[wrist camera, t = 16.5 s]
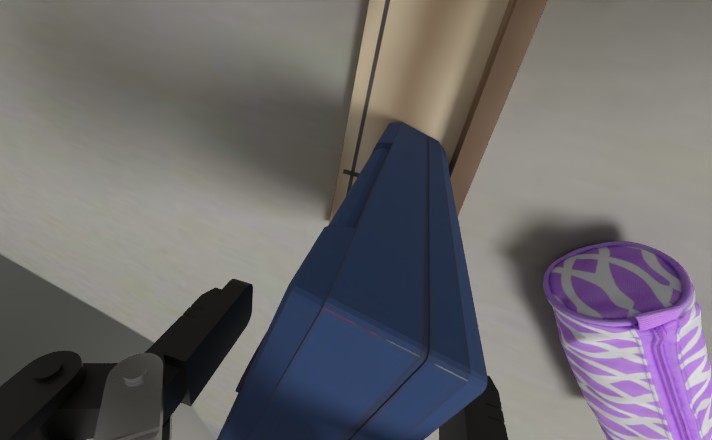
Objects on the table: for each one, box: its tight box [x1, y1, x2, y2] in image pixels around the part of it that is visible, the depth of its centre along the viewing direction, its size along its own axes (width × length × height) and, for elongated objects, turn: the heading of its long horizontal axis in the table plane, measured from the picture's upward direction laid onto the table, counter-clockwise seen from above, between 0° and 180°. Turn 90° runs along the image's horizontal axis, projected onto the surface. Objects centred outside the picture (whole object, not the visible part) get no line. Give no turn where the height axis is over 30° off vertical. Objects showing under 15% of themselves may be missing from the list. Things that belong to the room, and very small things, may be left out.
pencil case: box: [543, 241, 712, 440], centre depth 25 cm, size 22×9×10 cm, turn 33°
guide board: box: [329, 0, 547, 224], centre depth 20 cm, size 10×32×4 cm, turn 168°
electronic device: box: [217, 122, 487, 440], centre depth 17 cm, size 10×5×20 cm, turn 155°
